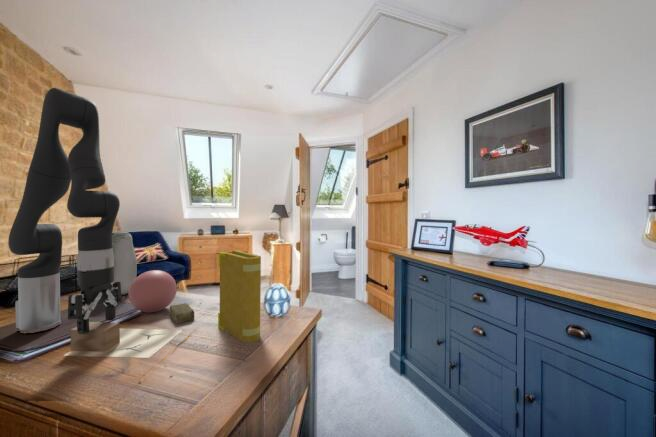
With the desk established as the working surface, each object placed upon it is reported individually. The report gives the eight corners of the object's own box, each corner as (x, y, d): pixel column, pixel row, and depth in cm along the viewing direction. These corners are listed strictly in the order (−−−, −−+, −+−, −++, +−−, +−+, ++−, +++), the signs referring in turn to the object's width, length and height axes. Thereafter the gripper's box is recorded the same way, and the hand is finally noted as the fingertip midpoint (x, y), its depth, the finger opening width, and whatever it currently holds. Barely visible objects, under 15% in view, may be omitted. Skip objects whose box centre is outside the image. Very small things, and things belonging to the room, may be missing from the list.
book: (218, 327, 93) (218, 252, 92) (236, 321, 98) (237, 250, 97) (245, 344, 81) (246, 259, 80) (264, 337, 86) (265, 256, 85)
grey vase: (115, 291, 128) (114, 230, 127) (140, 290, 130) (139, 230, 129) (103, 298, 118) (102, 232, 117) (130, 297, 121) (129, 232, 120)
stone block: (176, 329, 91) (176, 314, 90) (168, 318, 99) (168, 304, 99) (195, 324, 94) (195, 310, 94) (186, 314, 103) (186, 301, 103)
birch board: (63, 361, 71) (63, 355, 71) (112, 333, 87) (112, 328, 87) (149, 363, 71) (149, 357, 71) (182, 334, 87) (182, 330, 87)
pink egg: (162, 299, 119) (162, 263, 119) (183, 310, 107) (183, 270, 106) (118, 308, 107) (118, 268, 107) (137, 322, 95) (136, 277, 94)
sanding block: (70, 352, 72) (70, 329, 72) (87, 343, 77) (87, 321, 77) (105, 353, 72) (104, 330, 72) (119, 343, 77) (119, 322, 77)
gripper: (103, 261, 81) (105, 316, 82) (55, 272, 67) (57, 338, 68) (129, 261, 81) (130, 316, 82) (86, 272, 67) (88, 338, 68)
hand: (97, 326), depth 75 cm, fingers open, 8 cm apart
